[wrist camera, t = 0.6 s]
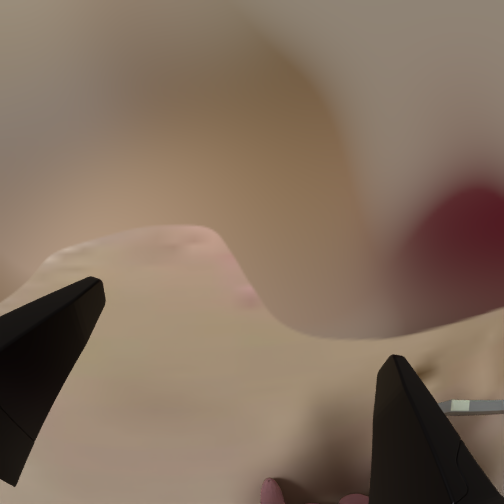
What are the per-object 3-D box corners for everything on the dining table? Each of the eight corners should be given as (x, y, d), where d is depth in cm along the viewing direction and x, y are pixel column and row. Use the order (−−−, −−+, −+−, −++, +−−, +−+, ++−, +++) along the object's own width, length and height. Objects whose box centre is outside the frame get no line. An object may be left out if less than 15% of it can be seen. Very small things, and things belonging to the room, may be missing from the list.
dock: (494, 548, 8) (509, 551, 6) (385, 582, 9) (399, 592, 7) (525, 403, 18) (541, 397, 16) (435, 404, 19) (453, 399, 17)
